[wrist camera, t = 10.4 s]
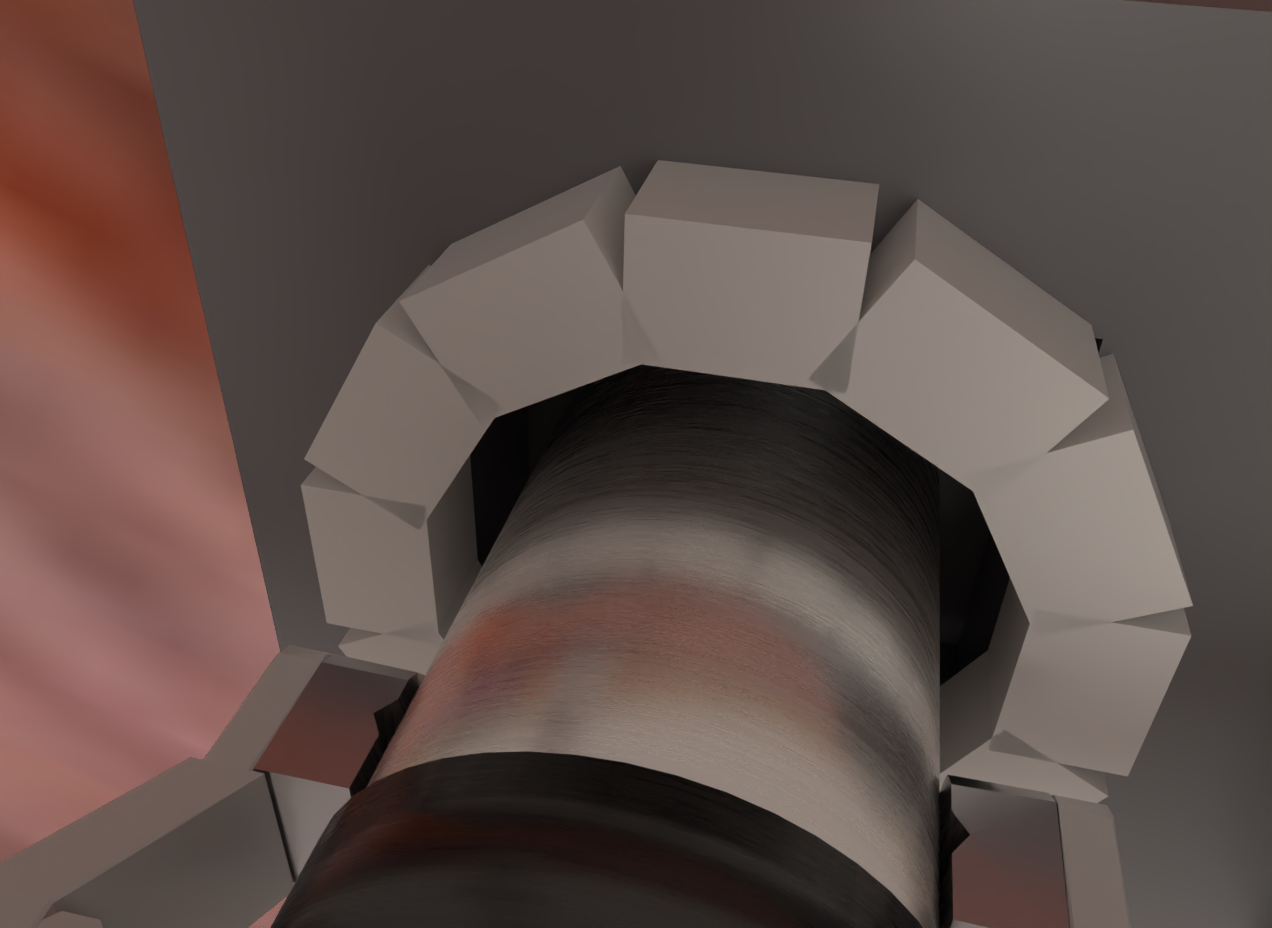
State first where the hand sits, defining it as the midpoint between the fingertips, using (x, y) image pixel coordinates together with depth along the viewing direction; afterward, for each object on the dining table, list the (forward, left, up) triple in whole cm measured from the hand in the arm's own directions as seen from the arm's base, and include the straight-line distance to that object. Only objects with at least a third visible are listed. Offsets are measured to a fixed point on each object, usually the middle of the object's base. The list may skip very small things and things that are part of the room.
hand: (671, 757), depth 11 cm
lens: (0, 0, -5) cm, 5 cm away
